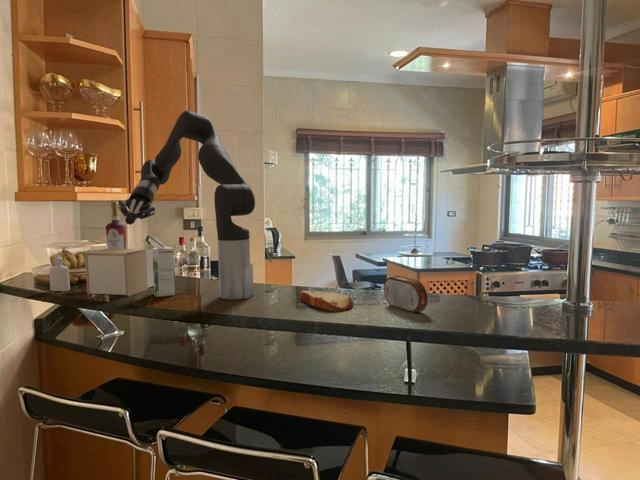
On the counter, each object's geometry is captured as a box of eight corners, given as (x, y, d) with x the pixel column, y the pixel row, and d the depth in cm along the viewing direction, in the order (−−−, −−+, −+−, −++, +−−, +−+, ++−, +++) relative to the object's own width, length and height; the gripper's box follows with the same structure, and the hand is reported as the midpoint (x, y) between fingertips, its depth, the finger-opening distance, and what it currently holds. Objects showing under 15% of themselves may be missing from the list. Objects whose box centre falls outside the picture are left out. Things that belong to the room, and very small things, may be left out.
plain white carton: (157, 284, 163) (156, 249, 161) (126, 295, 146) (124, 255, 145) (124, 283, 166) (122, 248, 164) (89, 293, 149) (87, 255, 148)
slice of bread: (303, 296, 145) (302, 284, 144) (361, 299, 139) (361, 286, 139) (281, 310, 127) (281, 296, 127) (347, 314, 122) (347, 300, 122)
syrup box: (153, 293, 149) (151, 247, 147) (173, 292, 151) (171, 246, 150) (155, 297, 144) (153, 249, 142) (175, 295, 146) (173, 248, 145)
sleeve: (147, 289, 156) (145, 249, 154) (128, 296, 146) (126, 253, 145) (108, 288, 159) (106, 248, 158) (87, 294, 149) (85, 252, 148)
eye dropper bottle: (61, 289, 159) (59, 252, 157) (72, 290, 156) (69, 253, 155) (48, 291, 155) (46, 254, 154) (59, 293, 152) (56, 255, 151)
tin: (428, 314, 120) (428, 281, 119) (418, 316, 118) (419, 282, 117) (391, 303, 133) (390, 273, 132) (381, 304, 131) (381, 274, 130)
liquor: (131, 272, 191) (127, 201, 188) (124, 275, 183) (121, 202, 180) (112, 272, 190) (108, 201, 187) (105, 276, 183) (101, 202, 180)
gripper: (124, 182, 170) (108, 209, 156) (162, 189, 172) (149, 217, 158) (124, 199, 175) (108, 227, 161) (161, 206, 177) (148, 235, 163)
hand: (128, 222), depth 160 cm, fingers closed
